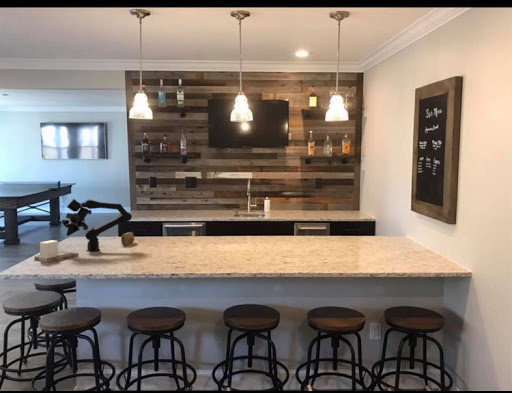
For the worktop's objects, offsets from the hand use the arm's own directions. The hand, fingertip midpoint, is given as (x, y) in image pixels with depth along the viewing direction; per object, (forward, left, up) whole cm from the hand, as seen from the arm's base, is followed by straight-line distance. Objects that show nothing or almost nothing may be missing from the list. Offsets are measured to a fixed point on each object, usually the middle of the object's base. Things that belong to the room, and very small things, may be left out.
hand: (67, 235), depth 275 cm
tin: (-17, -42, -13) cm, 47 cm away
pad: (+2, +15, -13) cm, 20 cm away
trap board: (+1, +8, -13) cm, 15 cm away
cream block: (+2, +14, -11) cm, 17 cm away
